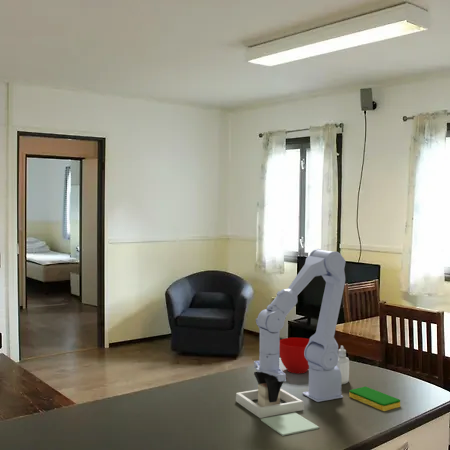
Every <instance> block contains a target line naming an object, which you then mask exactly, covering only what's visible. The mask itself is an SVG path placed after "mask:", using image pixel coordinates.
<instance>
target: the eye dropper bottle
mask: <svg viewBox="0 0 450 450" xmlns="http://www.w3.org/2000/svg"><path fill="white" fill-rule="evenodd" d="M338 356H339V359H338V363H337V365H336V366H337V367H338V368H339V369H340V372H341V376H342V383H341V385H346V384H348V383H349V381H350V359H349V357H347V350H346V349H345V347H344V345H340V348H338Z"/></svg>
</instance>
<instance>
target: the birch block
mask: <svg viewBox="0 0 450 450" xmlns="http://www.w3.org/2000/svg"><path fill="white" fill-rule="evenodd" d="M257 390H258V399H257V405H259V406H260V407H265V406H271V405H276V404H281V399H280V391H279V394H278V398H277V401H276V402H269V397H268V388H267V384H266V383H263V384H258V383H257Z"/></svg>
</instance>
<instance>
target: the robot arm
mask: <svg viewBox="0 0 450 450" xmlns="http://www.w3.org/2000/svg"><path fill="white" fill-rule="evenodd" d="M346 262H347V261H346V260H345V258H344V257H343V255H342V254H341V253H340V252H338V251H336V250H333V251H331V250H325V249H321V248H315V249H313V250H312V251H311V252H310V254H309V255H308V256H307V257H306V258H305V262H304V265H303V266H302V268H301V269H300V270H299V272H298V273H297V275H296V276H295V277H294V279H293V280H292V282H291V283H290V285H289V286H288V288H285V289H284V288H282V289H281V290H278V291H277V293H276V296H275V298H274V299H273V300H272V301H271V303H270V304H268V305H267V306H266V309H265V308H264V309H262V310H261V311H260V312H259V313H258V315H257V318H255V323H256V325H257V327H258V329H259V357H258V358H259V360H254V361H253V368H254V369H255V371H254V372H253V375H254V377H255V379H256V381H257V385H258V384H263V383H266V384H267V388H268V397H269V402H276V401H277V398H278V394H279V391H280V388H281V389H282V386H283V384H284V383H285V382H286V381H287V379H286V378H287V375H286V373H285V372H284V371H283V370H282V369H281V367H280V352H279V351H280V340H281V337H280V335H281V334H280V333H281V330H282V329H283V328H284V326H285V320H286V318H287V316H288V314H289V313H290V312H291V310H293V308H294V307H295V306H296V305H297V304H298V295H299V294H300V293H301V292H302V291H303V290H304V289H305V288H306V287H307V286H308V285H309V283H310V282H311V281H312V280H313V279H314V278H315V277H320V276H321V277H322V278H323V281H325V287H324V292H323V296H322V300H321V306H320V311H319V316H318V321H317V325H316V331H315V333H314V334H312V335H311V336H310V337H309V338H308V339H309V343H308V345H307V346H306V348H305V351H304V356H305V358H306V360H307V361H308V365H309V369H308V391H302V394H303V395H304V396H306V397H307V398H309V399H311V400H313V401H315V402H317V403H319V402H325V401H330V400H337V399H342V398H343V397H344V396H343V395H342V384H341V383H342V376H341V372H340V369H339V368H338V367H337V366H336V365H337V363H338V359H339V356H338V350H339V344H338V342H337V340H336V338H335V334H336V328H337V323H338V318H339V314H340V309H341V304H342V300H343V299H342V298H343V294H344V290H345V284H346V273H345V266H346Z"/></svg>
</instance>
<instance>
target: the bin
mask: <svg viewBox="0 0 450 450" xmlns="http://www.w3.org/2000/svg"><path fill="white" fill-rule="evenodd" d="M253 400H254V401H255V400H258V389H252V390H245V391H240V392H236V393H235V402H236V403H238V404H239V405H240V406H242V407H243V408H244V409H246V410H247V411H249V412H250V413H252V414H253V415H254V416H256V417H258V418H259V419H263V418H268V417H274V416H279V415H284V414H290V413H295V412H299V411H303V410H304V400H301V399H300V398H298V397H296V396H295V395H293V394H292V393H290V392H288V391H286V390H285V389H283V388H282V387H281V388H280V400H282V401H284V403H280V404H276V405H271V406H265V407H260V406H259V405H258V403H255V402H254V401H253Z"/></svg>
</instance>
